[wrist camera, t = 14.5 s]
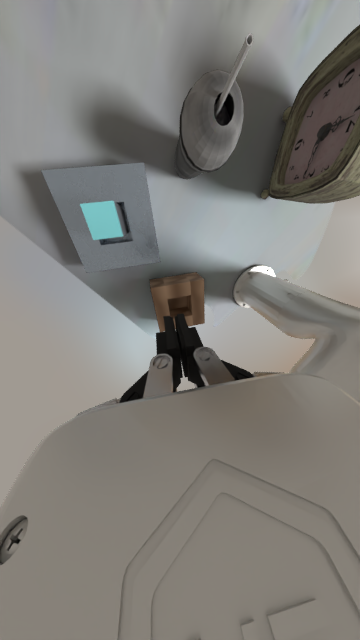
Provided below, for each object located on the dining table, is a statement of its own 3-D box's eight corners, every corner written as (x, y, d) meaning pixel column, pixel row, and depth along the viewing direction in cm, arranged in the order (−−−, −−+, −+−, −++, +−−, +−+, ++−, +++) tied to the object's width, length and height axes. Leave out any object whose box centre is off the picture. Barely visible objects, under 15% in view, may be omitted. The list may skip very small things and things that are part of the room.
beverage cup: (177, 196, 30) (219, 161, 13) (159, 145, 26) (187, 2, 9) (210, 177, 29) (298, 116, 13) (198, 122, 25) (303, -75, 8)
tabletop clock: (280, 97, 25) (877, -457, 5) (322, 110, 27) (883, -247, 7) (252, 205, 33) (434, 173, 12) (286, 209, 35) (494, 187, 14)
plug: (123, 208, 28) (112, 200, 19) (129, 232, 30) (122, 236, 21) (100, 210, 28) (79, 203, 19) (108, 235, 30) (93, 240, 21)
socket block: (143, 173, 27) (143, 162, 22) (158, 256, 35) (160, 262, 30) (61, 180, 25) (40, 170, 20) (95, 265, 33) (86, 273, 28)
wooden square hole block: (196, 272, 38) (204, 279, 33) (197, 312, 45) (204, 323, 40) (149, 279, 37) (150, 288, 32) (158, 319, 44) (160, 332, 39)
